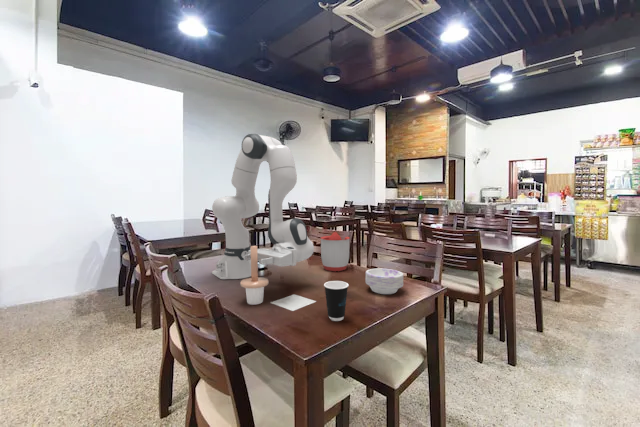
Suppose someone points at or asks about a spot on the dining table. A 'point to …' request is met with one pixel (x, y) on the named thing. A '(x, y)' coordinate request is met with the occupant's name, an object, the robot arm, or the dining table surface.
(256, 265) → the peg on round base
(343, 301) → the dixie cup
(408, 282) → the dining table surface
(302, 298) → the mat
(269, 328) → the dining table surface
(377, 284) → the paper bowls
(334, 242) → the citrus juicer
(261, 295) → the white round tub
